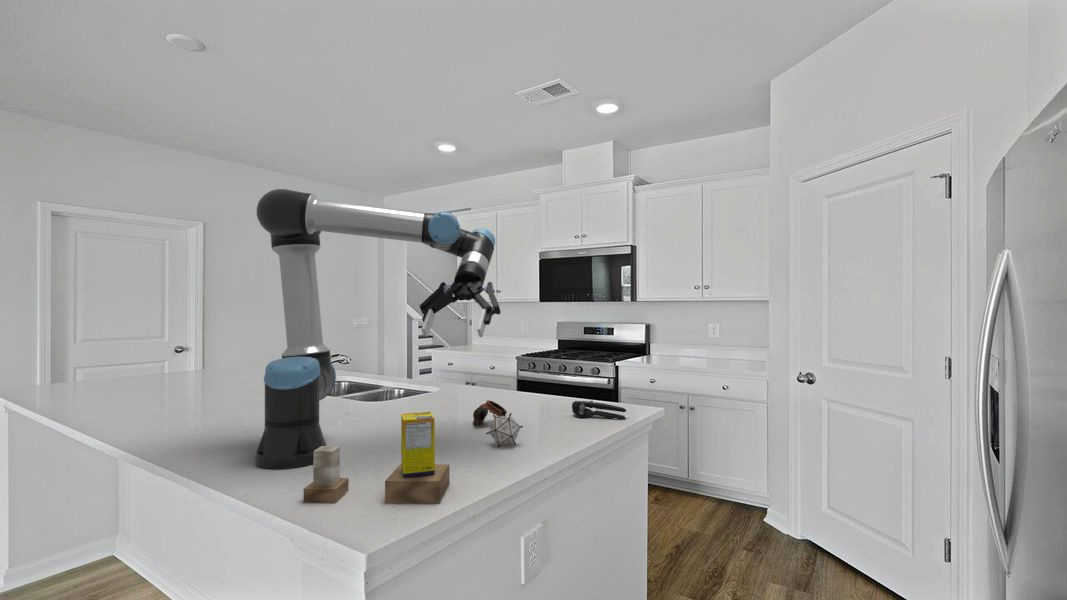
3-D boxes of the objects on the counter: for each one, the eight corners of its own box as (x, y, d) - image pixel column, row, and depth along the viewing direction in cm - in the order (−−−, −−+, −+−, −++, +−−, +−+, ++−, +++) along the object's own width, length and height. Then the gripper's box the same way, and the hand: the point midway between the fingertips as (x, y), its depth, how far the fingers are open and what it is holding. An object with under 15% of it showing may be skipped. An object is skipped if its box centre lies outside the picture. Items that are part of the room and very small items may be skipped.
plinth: (384, 502, 93) (384, 480, 93) (400, 483, 102) (400, 463, 103) (439, 503, 92) (439, 481, 92) (449, 484, 102) (449, 464, 102)
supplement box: (431, 465, 101) (431, 410, 102) (435, 475, 96) (435, 417, 96) (400, 468, 100) (400, 412, 100) (402, 478, 94) (402, 419, 94)
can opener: (569, 418, 163) (569, 401, 163) (573, 414, 170) (573, 397, 170) (625, 422, 158) (624, 404, 158) (627, 417, 165) (627, 400, 165)
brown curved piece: (479, 421, 161) (493, 399, 161) (501, 438, 156) (515, 415, 156) (459, 419, 150) (473, 395, 150) (481, 437, 146) (496, 412, 146)
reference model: (303, 502, 93) (303, 453, 93) (317, 490, 99) (318, 444, 99) (335, 502, 93) (336, 453, 93) (348, 490, 99) (348, 444, 99)
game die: (510, 461, 130) (521, 435, 125) (479, 449, 130) (489, 422, 125) (518, 436, 138) (529, 410, 132) (489, 425, 138) (498, 399, 133)
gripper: (520, 283, 134) (506, 344, 119) (431, 284, 138) (406, 342, 123) (515, 261, 128) (500, 322, 114) (423, 262, 133) (397, 321, 118)
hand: (451, 333), depth 118 cm, fingers open, 13 cm apart
